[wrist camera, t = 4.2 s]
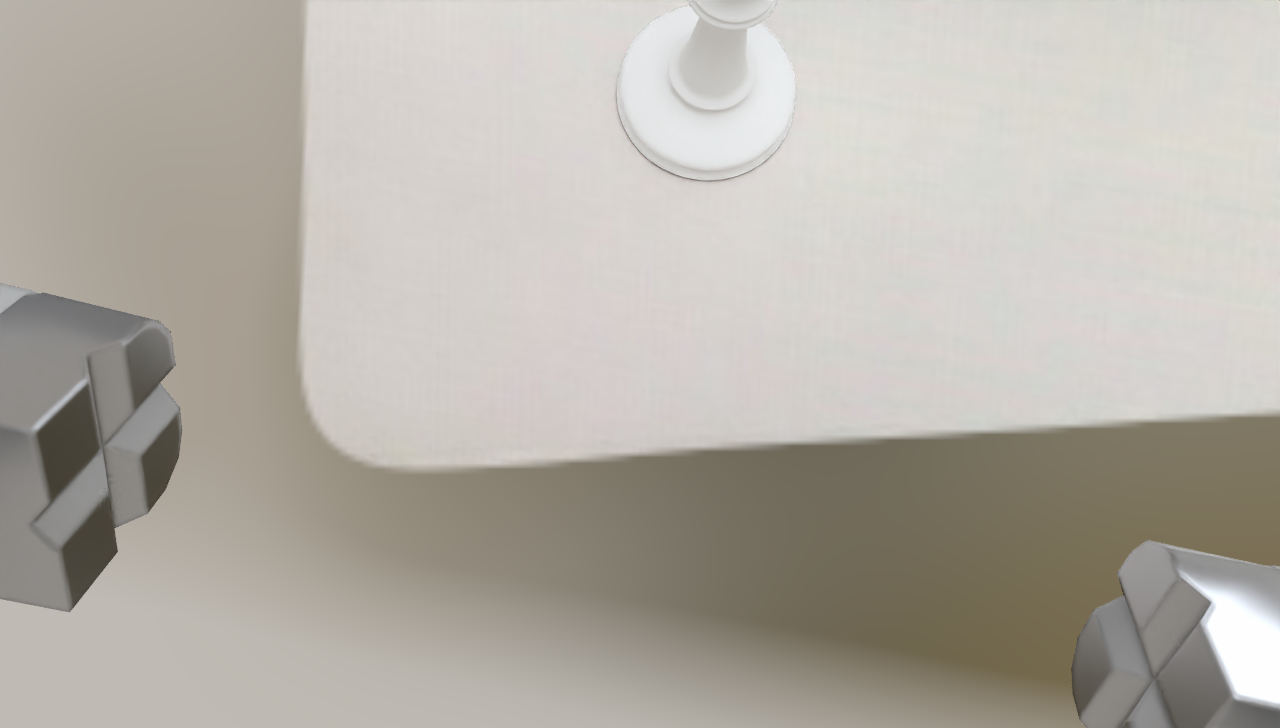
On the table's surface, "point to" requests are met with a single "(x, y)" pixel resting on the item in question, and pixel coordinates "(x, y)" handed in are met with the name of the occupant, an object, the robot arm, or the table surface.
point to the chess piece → (708, 89)
